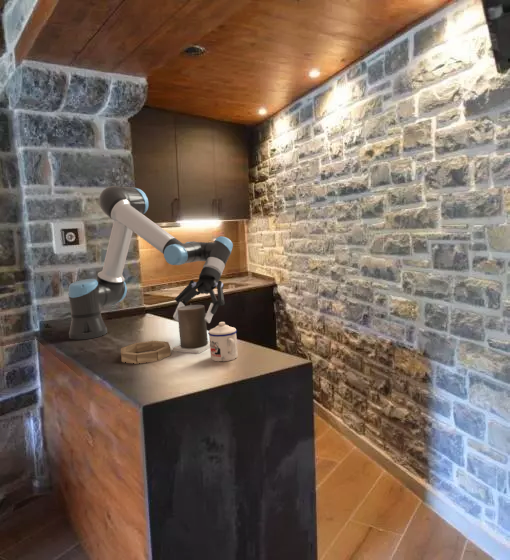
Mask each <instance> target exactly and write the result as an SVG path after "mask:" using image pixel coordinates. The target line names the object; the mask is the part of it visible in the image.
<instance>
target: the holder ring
mask: <svg viewBox="0 0 510 560" xmlns="http://www.w3.org/2000/svg"><path fill="white" fill-rule="evenodd" d="M171 355H172V353H171V345H170V342H169V341H163V340H162V341H161V340H147V341H139V342H134V343H130V344H129V345H126V346H123V347H120V359H121V362H122V363H125V362H126V363H125V364H133V363H134V365H135V364H136V365H138V364H139V363H140V364H146V362H147V363H153V362H158V361H161V360H164V359H165V358H168V357H170V356H171ZM157 360H158V361H157Z"/></svg>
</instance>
